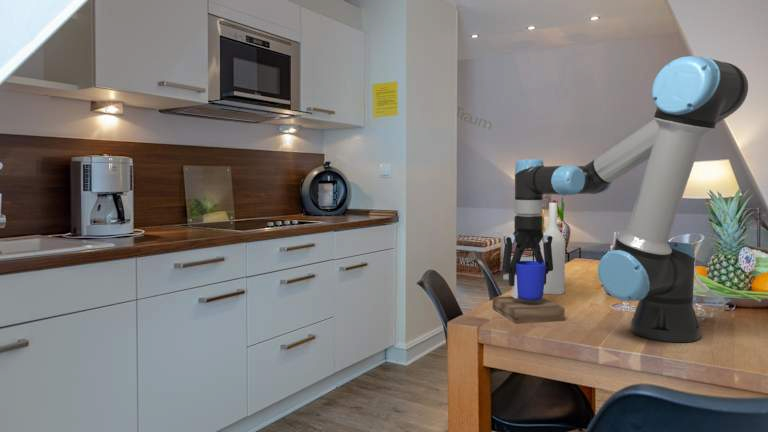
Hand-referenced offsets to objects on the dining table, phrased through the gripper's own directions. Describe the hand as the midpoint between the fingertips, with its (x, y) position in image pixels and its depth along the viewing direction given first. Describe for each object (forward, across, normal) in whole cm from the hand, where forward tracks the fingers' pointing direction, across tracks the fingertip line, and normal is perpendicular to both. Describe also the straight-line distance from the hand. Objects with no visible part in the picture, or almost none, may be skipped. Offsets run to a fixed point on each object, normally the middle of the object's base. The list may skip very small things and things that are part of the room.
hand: (527, 296), depth 152 cm
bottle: (+5, -21, -26) cm, 34 cm away
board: (+5, 0, 0) cm, 5 cm away
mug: (0, 0, 0) cm, 1 cm away
